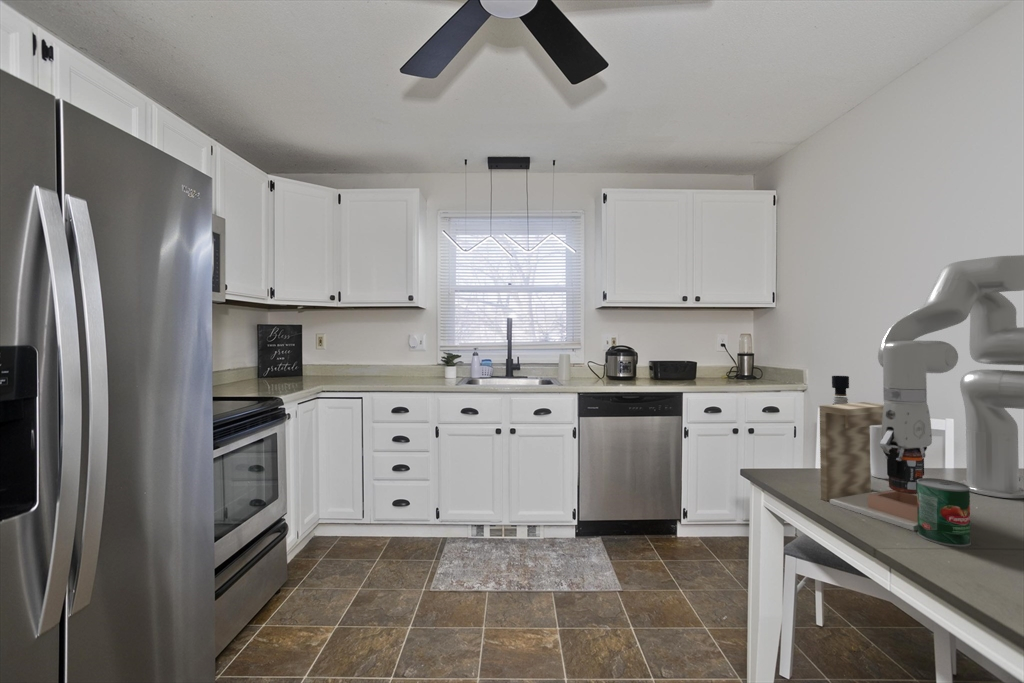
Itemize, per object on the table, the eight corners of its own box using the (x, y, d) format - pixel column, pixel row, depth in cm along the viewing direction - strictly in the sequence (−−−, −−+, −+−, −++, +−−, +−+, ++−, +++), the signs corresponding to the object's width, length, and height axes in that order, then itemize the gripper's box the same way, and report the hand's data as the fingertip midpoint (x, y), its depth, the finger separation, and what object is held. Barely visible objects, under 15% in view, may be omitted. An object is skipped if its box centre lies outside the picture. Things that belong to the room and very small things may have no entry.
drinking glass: (903, 481, 132) (902, 427, 132) (875, 480, 134) (874, 427, 134) (888, 474, 139) (888, 423, 139) (863, 473, 140) (862, 423, 140)
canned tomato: (965, 550, 89) (964, 492, 89) (912, 537, 95) (911, 482, 95) (975, 539, 93) (974, 484, 94) (923, 527, 100) (922, 475, 100)
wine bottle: (828, 480, 134) (826, 375, 134) (856, 484, 130) (854, 375, 130) (827, 486, 129) (825, 376, 129) (856, 490, 125) (854, 377, 125)
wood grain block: (864, 491, 124) (863, 402, 124) (894, 499, 117) (892, 405, 117) (820, 499, 118) (819, 405, 118) (849, 508, 112) (847, 409, 112)
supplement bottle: (922, 496, 102) (921, 444, 102) (887, 491, 106) (886, 441, 106) (923, 490, 107) (922, 440, 107) (890, 485, 111) (889, 437, 111)
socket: (874, 495, 120) (874, 479, 120) (961, 520, 104) (960, 501, 104) (829, 503, 115) (829, 487, 115) (913, 530, 98) (913, 511, 98)
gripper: (897, 399, 100) (898, 484, 100) (948, 396, 106) (949, 476, 106) (861, 396, 107) (862, 475, 107) (910, 393, 113) (911, 468, 113)
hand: (905, 475), depth 106 cm, fingers closed on supplement bottle, 6 cm apart
